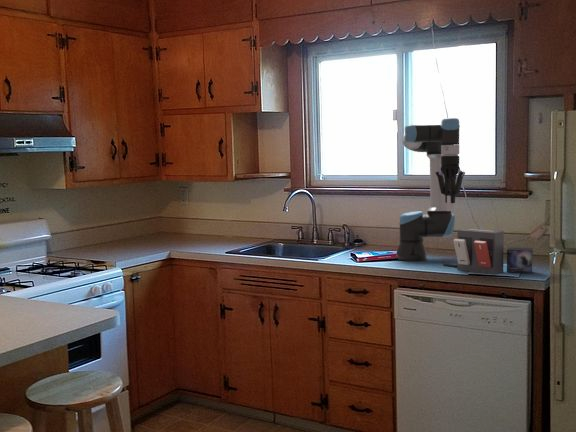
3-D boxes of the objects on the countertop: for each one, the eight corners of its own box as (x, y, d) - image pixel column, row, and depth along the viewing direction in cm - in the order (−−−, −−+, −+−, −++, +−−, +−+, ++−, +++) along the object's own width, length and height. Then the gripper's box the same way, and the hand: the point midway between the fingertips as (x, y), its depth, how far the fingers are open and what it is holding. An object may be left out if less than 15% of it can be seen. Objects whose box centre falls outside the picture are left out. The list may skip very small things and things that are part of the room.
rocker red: (478, 266, 285) (473, 242, 280) (480, 264, 286) (475, 240, 281) (489, 267, 281) (484, 243, 277) (491, 265, 282) (486, 241, 278)
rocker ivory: (458, 263, 291) (453, 240, 287) (460, 262, 293) (454, 238, 288) (468, 265, 288) (463, 241, 284) (470, 263, 289) (465, 239, 285)
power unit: (436, 267, 300) (436, 228, 298) (447, 264, 307) (446, 226, 305) (493, 274, 281) (493, 233, 279) (503, 271, 287) (503, 230, 286)
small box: (506, 272, 284) (506, 249, 283) (506, 270, 290) (507, 247, 289) (532, 274, 281) (532, 250, 279) (532, 271, 287) (532, 247, 286)
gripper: (431, 155, 276) (432, 210, 279) (459, 155, 267) (459, 212, 270) (441, 155, 282) (441, 209, 284) (468, 154, 273) (468, 210, 275)
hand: (450, 210), depth 277 cm, fingers closed
